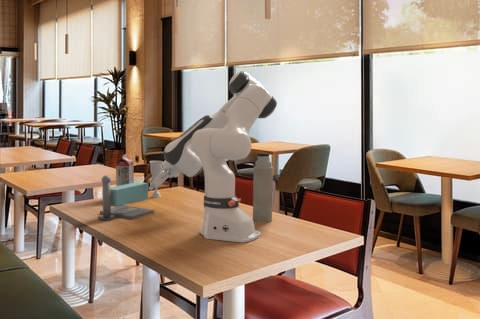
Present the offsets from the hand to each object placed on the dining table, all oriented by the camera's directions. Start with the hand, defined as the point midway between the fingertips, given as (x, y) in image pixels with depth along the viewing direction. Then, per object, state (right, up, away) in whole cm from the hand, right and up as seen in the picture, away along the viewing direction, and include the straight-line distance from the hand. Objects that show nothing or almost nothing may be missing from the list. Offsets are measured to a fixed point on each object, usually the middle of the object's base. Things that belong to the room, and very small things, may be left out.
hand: (149, 189), depth 212 cm
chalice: (-3, -6, +32) cm, 32 cm away
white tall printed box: (-17, -6, +26) cm, 32 cm away
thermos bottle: (+49, -12, -12) cm, 52 cm away
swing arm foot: (-15, -11, -15) cm, 24 cm away
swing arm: (-10, -9, -6) cm, 15 cm away
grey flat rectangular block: (-9, -10, -4) cm, 14 cm away
